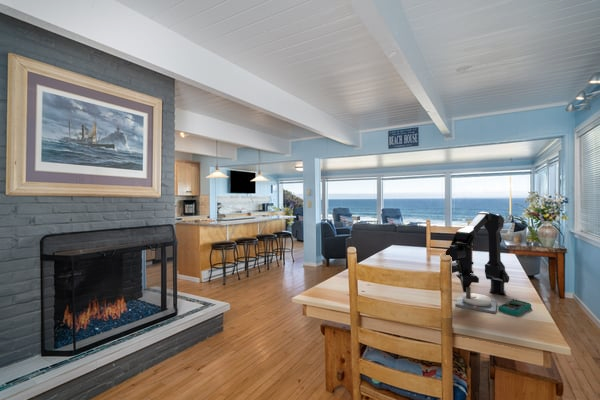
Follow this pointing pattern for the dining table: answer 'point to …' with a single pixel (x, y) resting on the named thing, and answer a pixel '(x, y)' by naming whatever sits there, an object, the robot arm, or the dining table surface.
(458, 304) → the base plate
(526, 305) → the digital multimeter
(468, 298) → the dial
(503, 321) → the dining table surface
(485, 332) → the dining table surface
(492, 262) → the robot arm
